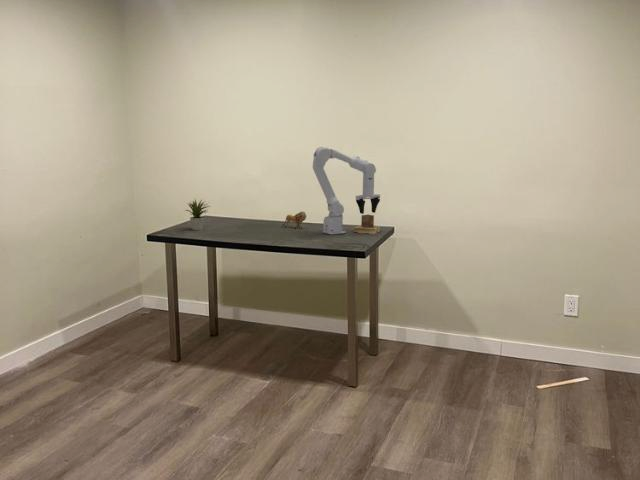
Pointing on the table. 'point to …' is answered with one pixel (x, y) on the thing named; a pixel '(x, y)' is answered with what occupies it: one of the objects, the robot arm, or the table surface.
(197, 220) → the house plant
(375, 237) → the table surface
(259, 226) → the table surface
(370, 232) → the oak plinth
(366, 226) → the walnut block
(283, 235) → the table surface
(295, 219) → the lion figurine
